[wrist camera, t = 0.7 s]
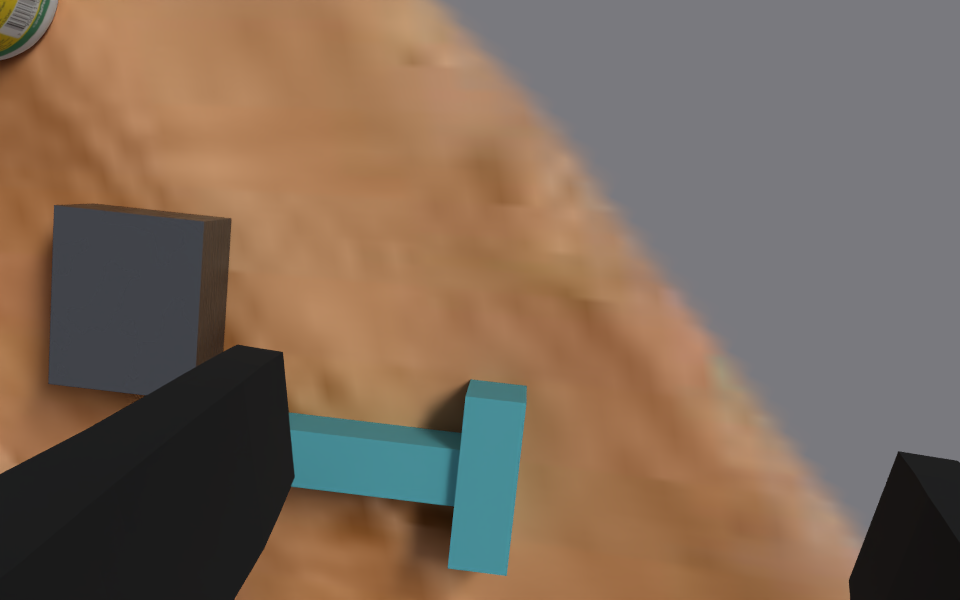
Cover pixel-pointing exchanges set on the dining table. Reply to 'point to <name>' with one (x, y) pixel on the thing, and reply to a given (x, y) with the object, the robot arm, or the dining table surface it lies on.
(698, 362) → the dining table surface
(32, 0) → the supplement bottle
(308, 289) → the dining table surface
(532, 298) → the dining table surface
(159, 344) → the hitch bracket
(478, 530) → the teal t-shaped bar
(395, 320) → the dining table surface
